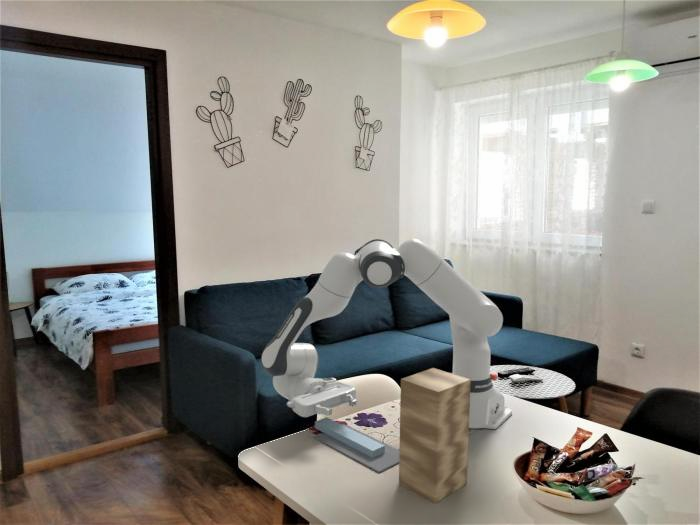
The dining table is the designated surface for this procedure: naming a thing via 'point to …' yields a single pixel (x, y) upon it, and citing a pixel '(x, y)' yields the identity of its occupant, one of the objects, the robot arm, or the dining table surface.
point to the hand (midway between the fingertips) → (342, 407)
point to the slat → (350, 437)
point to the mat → (374, 463)
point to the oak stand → (434, 433)
